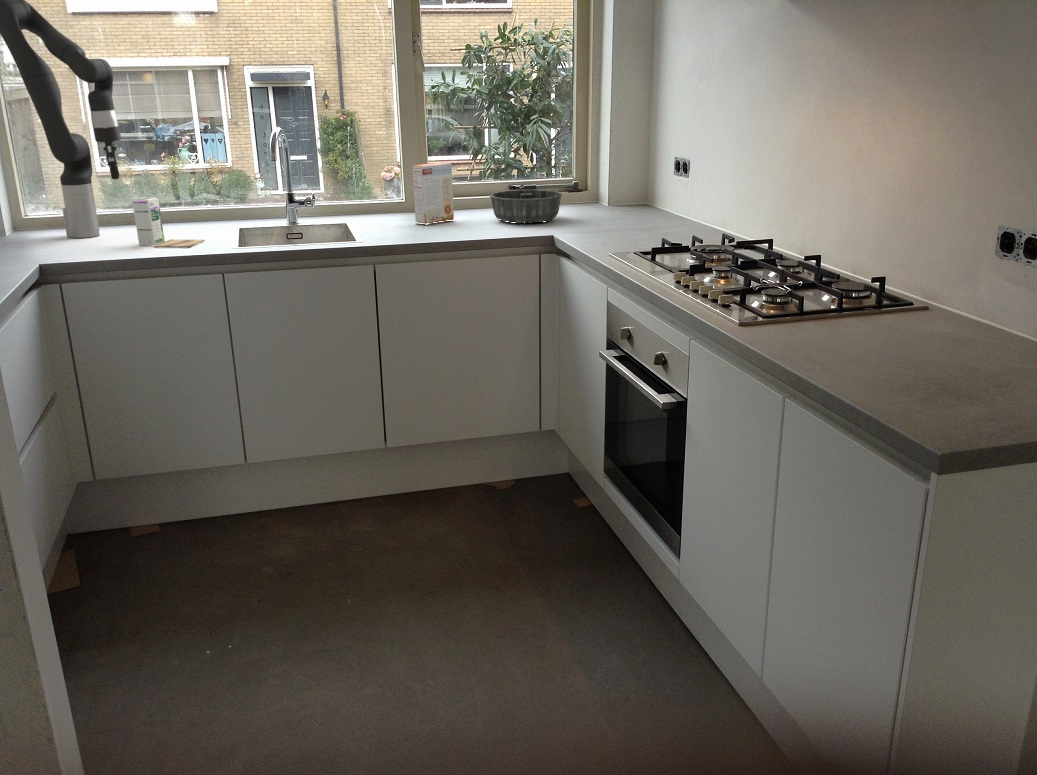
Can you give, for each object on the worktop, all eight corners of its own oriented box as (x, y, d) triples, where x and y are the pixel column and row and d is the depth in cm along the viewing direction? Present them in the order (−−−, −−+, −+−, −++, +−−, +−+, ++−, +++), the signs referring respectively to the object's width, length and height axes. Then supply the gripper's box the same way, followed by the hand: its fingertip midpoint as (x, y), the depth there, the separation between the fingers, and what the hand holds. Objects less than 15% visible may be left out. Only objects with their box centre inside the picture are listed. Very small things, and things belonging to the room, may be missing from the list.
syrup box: (155, 246, 285) (148, 199, 280) (138, 245, 286) (131, 199, 281) (165, 242, 290) (159, 197, 285) (148, 242, 291) (142, 196, 286)
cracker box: (443, 219, 334) (441, 162, 328) (454, 221, 331) (452, 163, 324) (414, 224, 325) (411, 164, 318) (425, 225, 321) (422, 165, 314)
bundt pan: (512, 229, 314) (512, 199, 311) (477, 219, 336) (477, 192, 332) (576, 222, 326) (576, 194, 323) (538, 214, 348) (538, 187, 345)
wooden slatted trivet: (153, 247, 282) (153, 245, 282) (170, 241, 293) (170, 239, 293) (189, 247, 281) (189, 246, 281) (205, 241, 292) (204, 239, 292)
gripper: (93, 125, 291) (103, 177, 296) (91, 127, 278) (102, 180, 284) (118, 124, 293) (128, 174, 299) (118, 125, 281) (128, 178, 286)
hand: (115, 177), depth 291 cm, fingers open, 8 cm apart
